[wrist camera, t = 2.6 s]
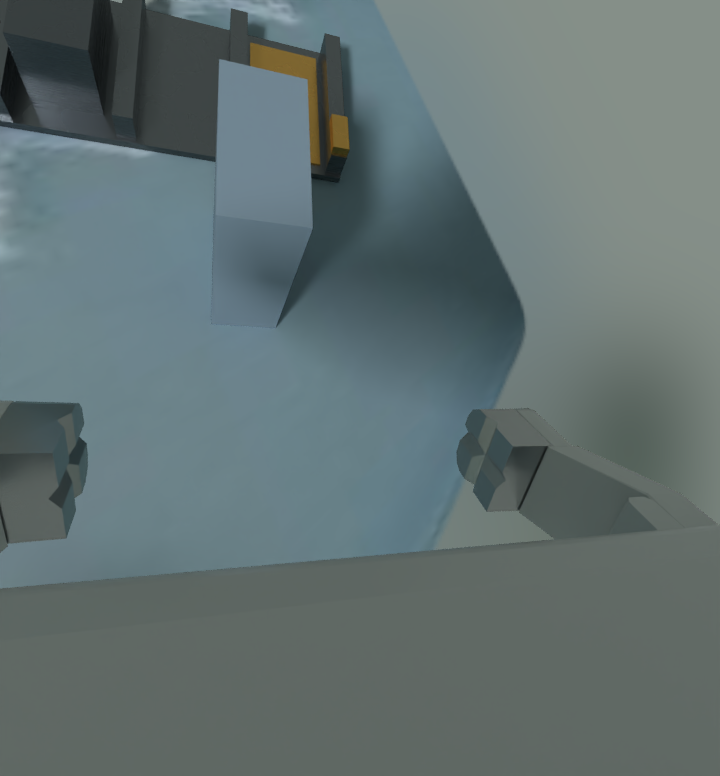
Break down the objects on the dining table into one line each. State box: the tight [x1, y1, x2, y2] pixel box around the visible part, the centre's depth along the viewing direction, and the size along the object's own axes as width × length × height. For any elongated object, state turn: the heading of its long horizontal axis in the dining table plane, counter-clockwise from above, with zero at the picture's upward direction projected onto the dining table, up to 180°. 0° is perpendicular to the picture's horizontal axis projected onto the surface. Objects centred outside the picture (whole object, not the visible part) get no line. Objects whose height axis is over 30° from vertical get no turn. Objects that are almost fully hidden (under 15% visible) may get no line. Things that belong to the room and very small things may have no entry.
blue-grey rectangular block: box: [211, 59, 313, 328], centre depth 23 cm, size 7×4×10 cm, turn 3°
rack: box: [0, 0, 350, 182], centre depth 27 cm, size 10×19×4 cm, turn 93°
